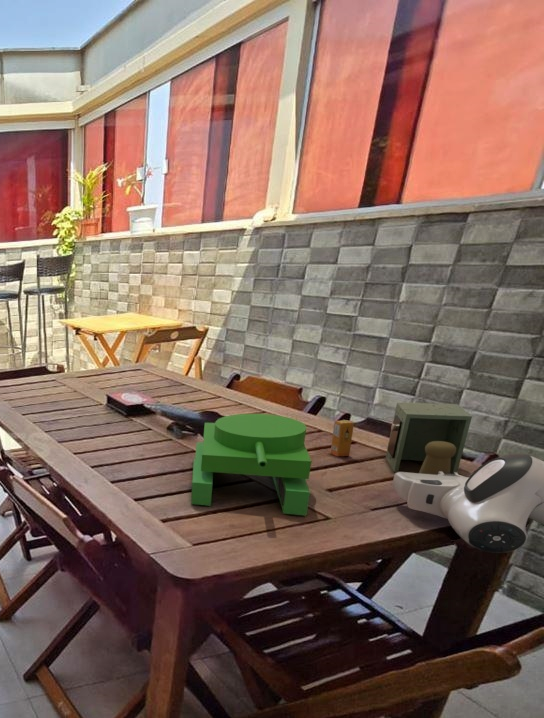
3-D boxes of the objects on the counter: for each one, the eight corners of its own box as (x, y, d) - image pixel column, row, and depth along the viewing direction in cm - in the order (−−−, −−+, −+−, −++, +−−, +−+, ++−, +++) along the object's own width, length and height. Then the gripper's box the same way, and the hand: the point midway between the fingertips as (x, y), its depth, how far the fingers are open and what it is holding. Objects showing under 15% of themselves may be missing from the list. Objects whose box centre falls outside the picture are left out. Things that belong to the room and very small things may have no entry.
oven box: (443, 461, 129) (457, 403, 124) (456, 477, 121) (472, 416, 116) (380, 457, 136) (391, 402, 131) (388, 471, 127) (400, 413, 122)
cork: (444, 481, 120) (455, 439, 116) (452, 491, 115) (464, 448, 111) (411, 478, 123) (421, 437, 119) (418, 488, 118) (428, 446, 114)
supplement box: (341, 452, 142) (347, 419, 138) (349, 456, 138) (355, 422, 135) (329, 452, 142) (334, 420, 139) (336, 457, 139) (342, 423, 136)
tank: (187, 514, 118) (191, 452, 113) (193, 461, 147) (196, 409, 141) (310, 528, 107) (321, 460, 101) (291, 468, 135) (299, 412, 130)
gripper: (547, 493, 94) (517, 466, 104) (404, 481, 104) (390, 457, 115) (537, 522, 96) (509, 493, 107) (398, 507, 106) (385, 482, 117)
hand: (446, 474), depth 111 cm, fingers closed
